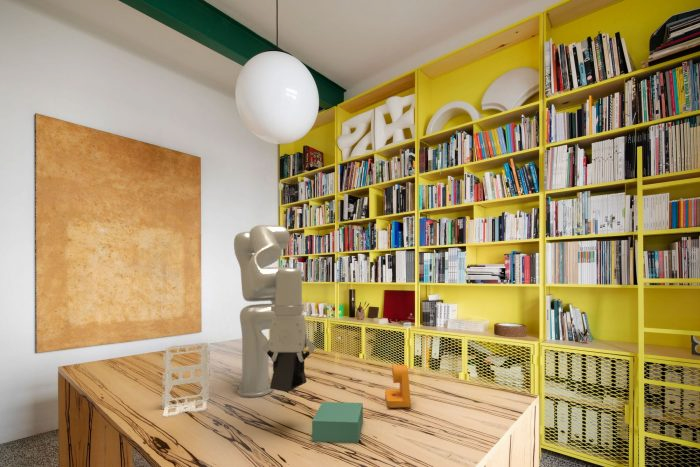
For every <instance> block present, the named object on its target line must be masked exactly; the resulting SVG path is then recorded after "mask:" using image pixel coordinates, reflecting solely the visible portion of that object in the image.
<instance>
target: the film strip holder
mask: <svg viewBox="0 0 700 467" xmlns="http://www.w3.org/2000/svg"><path fill="white" fill-rule="evenodd" d="M208 343H209V342H198V343H189V344H188V343H187V344H179V345H170V346H166V347H165V353H163V354H162V357H163V358H162V369H164V372H162V384H161V385H162V386H161V387H162V388H164V391H161V410H163V412H162V418H169V417H176V416H178V415H181V414H182V413H186V412H188V413H200V412H204V411H207V410H208V403H209V402H210V384H208V381H210V379H211V378H210V377H211V375H210V371H211V370H210V368H211V366H208V363H210V362H211V349H210V348H208V347H209V346H208V345H209V344H208ZM197 347H202V349H197ZM190 348H194V349H195V350H189V349H190ZM180 349H185V351H180ZM171 350H177V351H176V352H171ZM191 353H192V354H193V353H200V354H201V356H202V360H201V361H200V364H193V365H185V366H176V367H174V366H173V364H172V363H171V361H172V359H173V357H174V356H176V355H184V354H191ZM196 370H197V371H199V370H200V372H201V374H200V376H195V371H196ZM185 372H189V373H190V376H189V378H188V377H187V378H184V373H185ZM173 373H174V374H175V373H178V376H179V377H178V379H175V380H174V379H173V378H172V376H173ZM193 383H199V384H200V385H201V387H202V388H201V391H200V393H199V394H195V395H193V394H192V395H188V396H187V395H186V396H181V397H175V398H174V397H172V394H171V393H170V392H171V390H172V388H173V387H174V386H179V385H186V384H193ZM198 397H201V398H202V399H198V400H196V398H198ZM191 398H193V400H191V401H188V399H191ZM179 400H184V402H179ZM171 401H172V402H174V401H175V403H173V404H172V403H171ZM197 405H198V406H199V405H202V406H199V407H197ZM174 409H175V411H171V412H169V411H170V410H174Z"/></svg>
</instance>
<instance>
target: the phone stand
mask: <svg viewBox="0 0 700 467" xmlns="http://www.w3.org/2000/svg"><path fill="white" fill-rule="evenodd" d="M276 361H277V366H276V368H275V367H274V372H273V371H272V372H273V373H272V377H271V382H270V384H271V385H270V389H273V390H275V391H280V392H284V393H288V392H290V391H292V390H296V389H297V388H299V387H300V386H302V385H305V384H306V383H307V378H306V372H305V371H304V373H302V375H301V376H300V377H298V376H297V363H298V362H299V358H298V356H297V353H278V356H277V360H276Z"/></svg>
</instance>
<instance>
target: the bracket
mask: <svg viewBox="0 0 700 467" xmlns="http://www.w3.org/2000/svg"><path fill="white" fill-rule="evenodd" d="M391 372H392V381H393V384H394V383H395V384H399V388H397V389H396V388H393V389H391V388H390V389H388V388H387V389H385V390H384V394H385V395H384V396H385V403H386V407H387V408H411V407H412V406H411V405H412V404H411V389H410V378H409V369H408V365H407V364H399V365H398V364H397V365H396V364H395V365H392V371H391Z"/></svg>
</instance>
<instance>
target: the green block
mask: <svg viewBox="0 0 700 467" xmlns="http://www.w3.org/2000/svg"><path fill="white" fill-rule="evenodd" d="M363 407H364V405H363V402H342V401H341V402H338V401H335V402H333V401H322V402H321V404H320V406H319V408H318V410H316V413H315V415H314V417H313V419H312V421H311V431H312V434H311V436H312V437H311V438H312V439H311V440H312V442H319V443H320V442H321V443H345V444H346V443H349V444H351V443H352V444H359V442H360V436H361V433H362V427H363V422H364V411H363V410H364V408H363Z"/></svg>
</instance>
